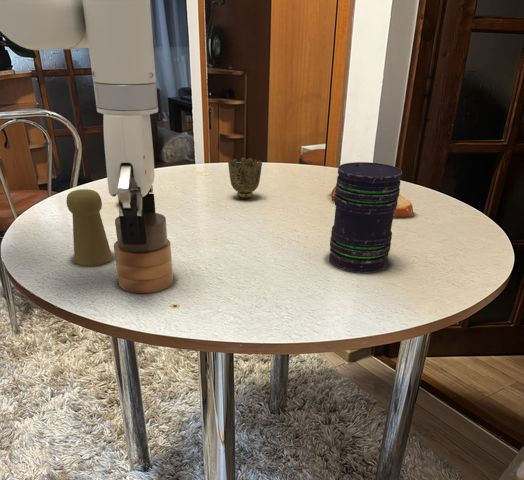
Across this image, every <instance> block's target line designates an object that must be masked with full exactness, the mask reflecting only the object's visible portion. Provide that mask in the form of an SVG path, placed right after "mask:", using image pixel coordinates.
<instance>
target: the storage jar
mask: <svg viewBox="0 0 524 480" xmlns="http://www.w3.org/2000/svg"><path fill="white" fill-rule="evenodd" d="M337 174H338V175H337V176H336V183H335V186H336V188H335V193H336V194H335V198H334V199H333V201H334V205H335V209H334V220H333V225H332V227H331V231H330V232H331V233H330V239H329V252H330V254H329V255H328V262H329V263H330V264H331V265H332V266H333V267H335V268H337V269H339V270H342V271H345V272H350V273H357V274H359V273H360V274H371V273H377V272H380V271H382V270H384V269H385V268H387V265H388V257H389V254H390V251H391V246H392V239H393V232H392V227H393V220H394V217H393V215H394V210H395V209H396V207H397V204H398V202H397V201H398V197H399V194H400V191H401V179H402V176H403V170H402V169H401V168H398V167H397V166H394V165H390V164H386V163H378V162H370V161H369V162H368V161H357V162H355V161H354V162H346V163H342V164H339V166H337Z"/></svg>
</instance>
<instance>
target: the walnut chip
mask: <svg viewBox="0 0 524 480" xmlns="http://www.w3.org/2000/svg"><path fill="white" fill-rule="evenodd" d="M142 214H145V223H146V233H147V243H146V244H145V245H125V244H123V242H122V234H121V226H120V218H119V216H117V217H115V219H114V225H115V232H116V233H115V234H116V241H118V246H119V248H120V249H122V250H125V251H128V252H136V253H143V252H152V251H156V250H159V249H162V248H164V247H165V246H166V245H167V243H168V241H167V239H168V229H167V219H166V217H165V215H164V214H161V213H159V212H156V213H154V212H142Z"/></svg>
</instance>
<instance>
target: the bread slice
mask: <svg viewBox="0 0 524 480" xmlns="http://www.w3.org/2000/svg"><path fill="white" fill-rule="evenodd" d="M335 188H336V185H335V186H334V187H333V189H332V191H331V198H332V199H333V200H334V198H335V194H336V193H335ZM397 202H398V204H397V207H396V209H395V210H394V215H393V218H399V219H400V218H401V219H402V218H411V217H413V216H414V215H415V211H414V207H413V203H412V200H409V199H408V198H406V197H405V196H403V195H402V194H400V193H399V197H398V201H397Z"/></svg>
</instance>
